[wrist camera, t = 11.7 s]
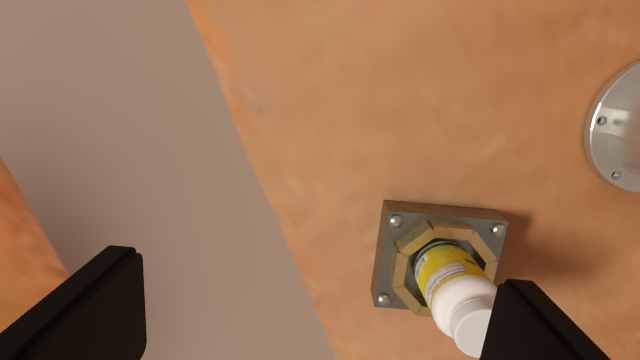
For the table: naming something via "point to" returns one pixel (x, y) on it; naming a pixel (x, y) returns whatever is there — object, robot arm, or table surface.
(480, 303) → the supplement bottle
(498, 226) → the octagonal bottle holder
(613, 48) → the table surface
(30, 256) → the table surface
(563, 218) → the table surface
